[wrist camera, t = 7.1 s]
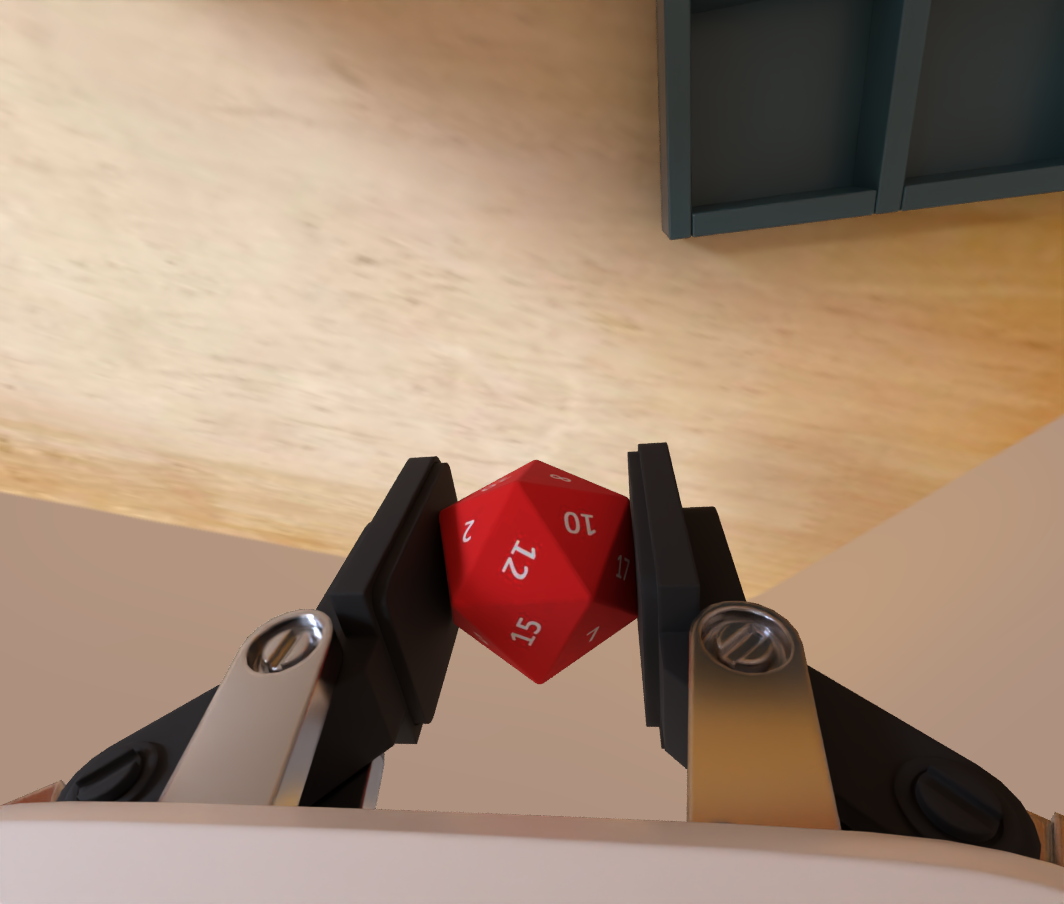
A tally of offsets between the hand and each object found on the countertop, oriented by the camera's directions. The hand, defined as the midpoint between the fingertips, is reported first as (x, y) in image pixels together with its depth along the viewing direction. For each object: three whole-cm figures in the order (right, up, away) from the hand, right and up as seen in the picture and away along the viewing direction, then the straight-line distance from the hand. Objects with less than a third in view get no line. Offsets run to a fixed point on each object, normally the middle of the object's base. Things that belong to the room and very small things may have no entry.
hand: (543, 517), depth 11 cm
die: (0, 0, 0) cm, 0 cm away
